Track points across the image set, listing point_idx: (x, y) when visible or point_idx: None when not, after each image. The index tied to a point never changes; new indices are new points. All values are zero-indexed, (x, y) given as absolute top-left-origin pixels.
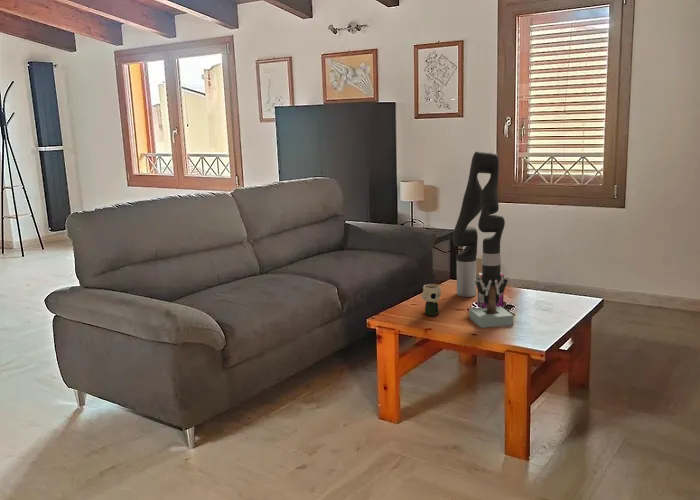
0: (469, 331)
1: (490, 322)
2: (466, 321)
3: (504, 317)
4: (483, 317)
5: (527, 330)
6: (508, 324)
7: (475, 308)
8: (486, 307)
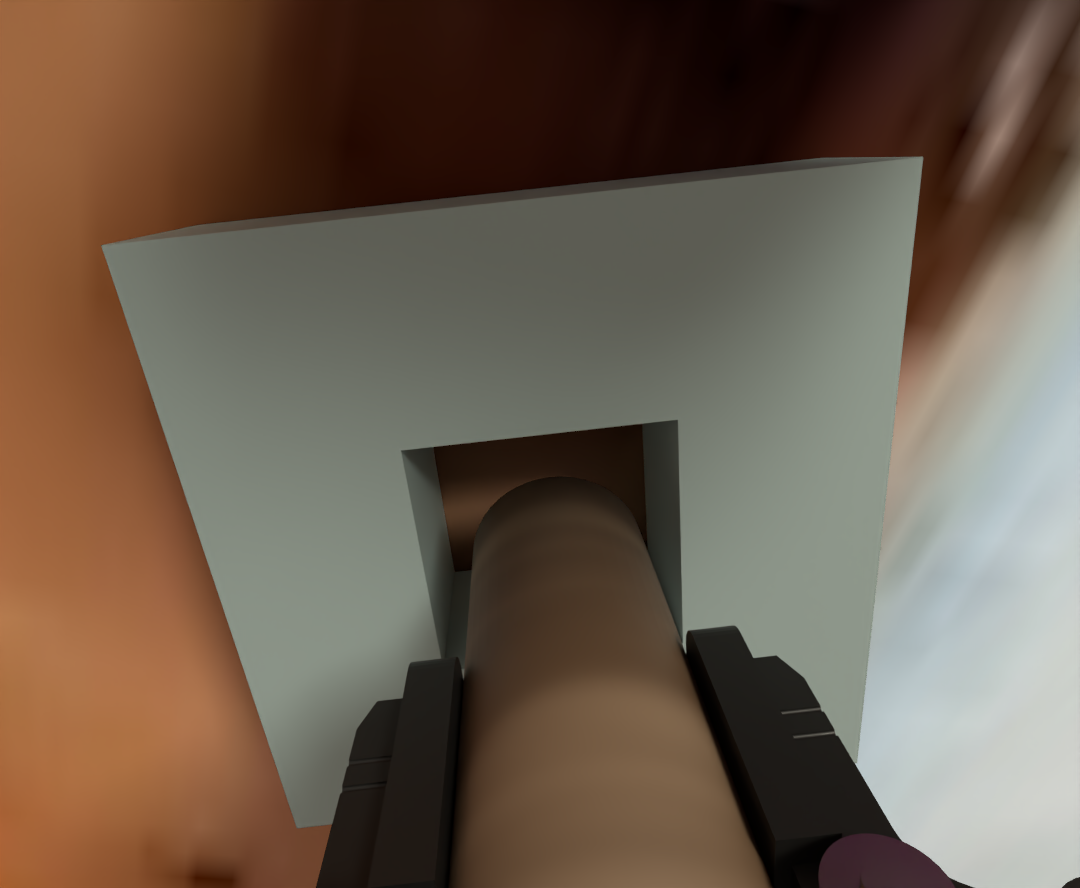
0: (166, 801)
1: None
2: (136, 419)
3: None
4: None
5: None
6: None
7: (262, 243)
8: (553, 203)
